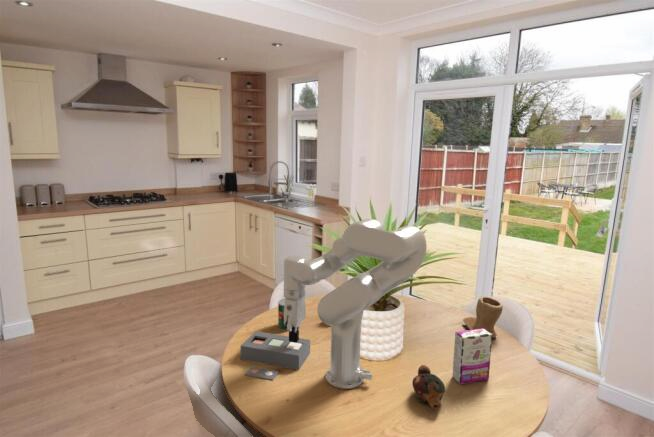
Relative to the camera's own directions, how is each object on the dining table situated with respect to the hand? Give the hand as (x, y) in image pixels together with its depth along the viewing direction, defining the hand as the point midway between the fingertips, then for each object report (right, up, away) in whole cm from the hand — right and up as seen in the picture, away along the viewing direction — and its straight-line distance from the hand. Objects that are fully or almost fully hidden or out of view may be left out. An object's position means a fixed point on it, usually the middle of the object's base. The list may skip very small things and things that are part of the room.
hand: (293, 340), depth 144 cm
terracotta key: (-13, -5, +5) cm, 15 cm away
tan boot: (+77, -4, +26) cm, 82 cm away
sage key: (-7, -4, +3) cm, 8 cm away
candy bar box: (+60, -10, -8) cm, 61 cm away
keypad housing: (-7, -7, +3) cm, 10 cm away
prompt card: (-10, -9, -8) cm, 16 cm away
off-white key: (0, -4, +1) cm, 4 cm away
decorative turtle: (+43, -12, -20) cm, 49 cm away
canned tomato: (-5, -2, +27) cm, 28 cm away
